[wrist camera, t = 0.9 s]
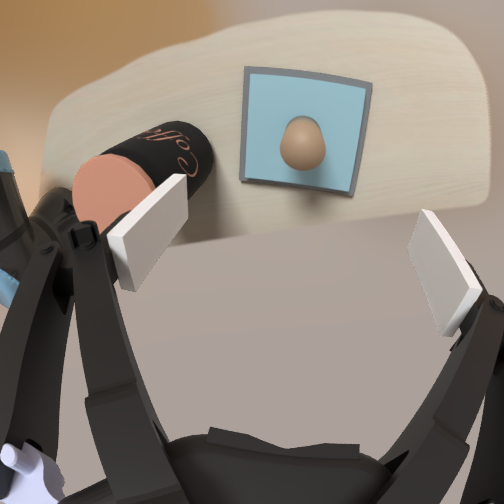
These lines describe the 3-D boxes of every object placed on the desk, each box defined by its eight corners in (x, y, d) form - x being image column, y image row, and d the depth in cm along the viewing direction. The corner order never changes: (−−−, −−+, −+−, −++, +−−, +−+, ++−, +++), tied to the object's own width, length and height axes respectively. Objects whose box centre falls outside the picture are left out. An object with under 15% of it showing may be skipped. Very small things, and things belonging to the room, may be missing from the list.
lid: (246, 174, 39) (228, 205, 31) (252, 73, 31) (233, 72, 23) (347, 188, 38) (358, 223, 29) (363, 88, 30) (384, 92, 21)
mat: (240, 178, 40) (239, 180, 40) (245, 66, 31) (244, 66, 31) (352, 193, 39) (353, 196, 38) (371, 82, 30) (372, 83, 29)
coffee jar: (230, 152, 38) (181, 207, 24) (187, 200, 44) (130, 272, 29) (174, 104, 36) (93, 133, 21) (137, 158, 41) (61, 210, 26)
